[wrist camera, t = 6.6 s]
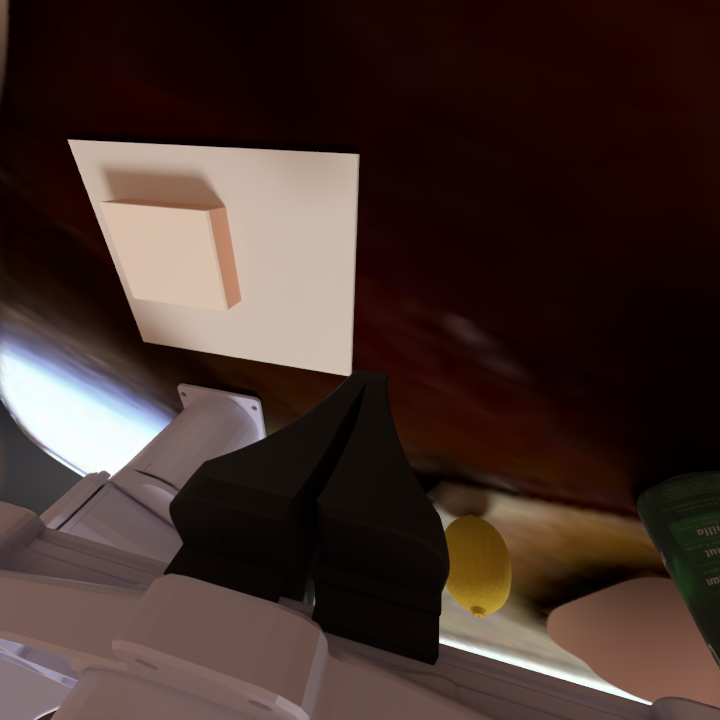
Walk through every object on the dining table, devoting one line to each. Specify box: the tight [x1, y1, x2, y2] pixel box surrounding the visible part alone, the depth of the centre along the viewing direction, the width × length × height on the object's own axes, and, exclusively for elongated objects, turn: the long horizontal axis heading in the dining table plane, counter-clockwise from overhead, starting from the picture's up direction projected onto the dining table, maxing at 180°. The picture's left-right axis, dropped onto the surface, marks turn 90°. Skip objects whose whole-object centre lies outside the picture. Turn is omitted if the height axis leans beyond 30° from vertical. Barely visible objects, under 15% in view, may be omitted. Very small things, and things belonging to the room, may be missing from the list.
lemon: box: [444, 514, 511, 618], centre depth 26 cm, size 6×6×8 cm
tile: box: [99, 199, 241, 311], centre depth 20 cm, size 6×2×7 cm
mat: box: [68, 140, 359, 376], centre depth 22 cm, size 14×18×1 cm
